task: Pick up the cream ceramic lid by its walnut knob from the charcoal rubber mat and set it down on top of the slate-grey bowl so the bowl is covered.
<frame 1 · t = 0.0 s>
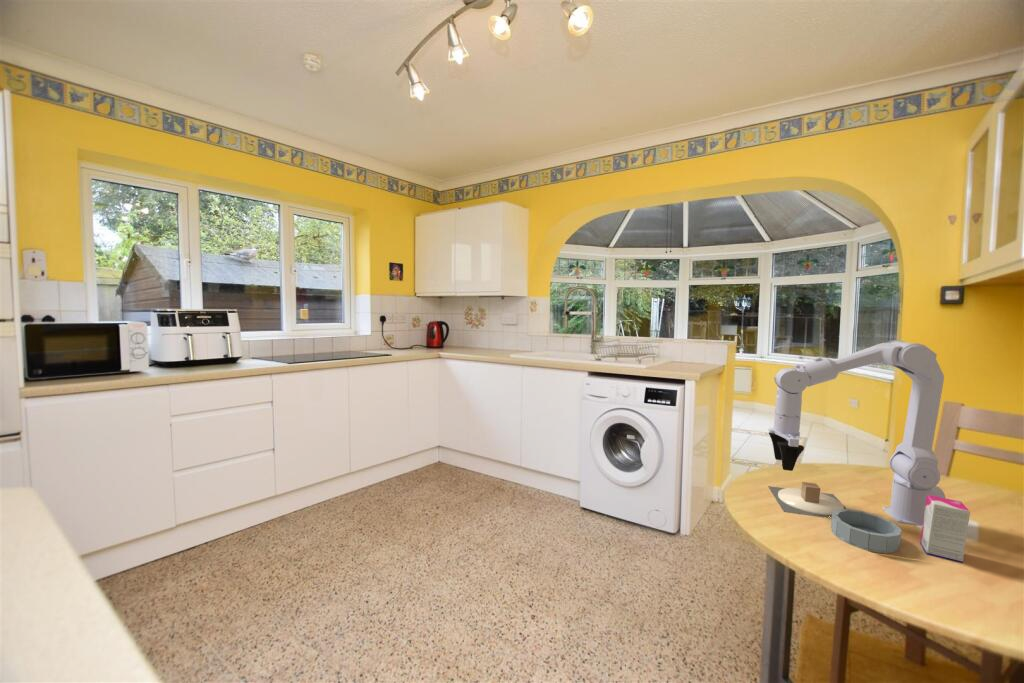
hand: (783, 464, 118), 10 cm above the table, tool pointing down, fingers open, 7 cm apart
bowl: (863, 538, 100), on the table
lid: (809, 502, 117), resting on mat
supplement box: (940, 554, 95), on the table
mat: (809, 503, 117), on the table
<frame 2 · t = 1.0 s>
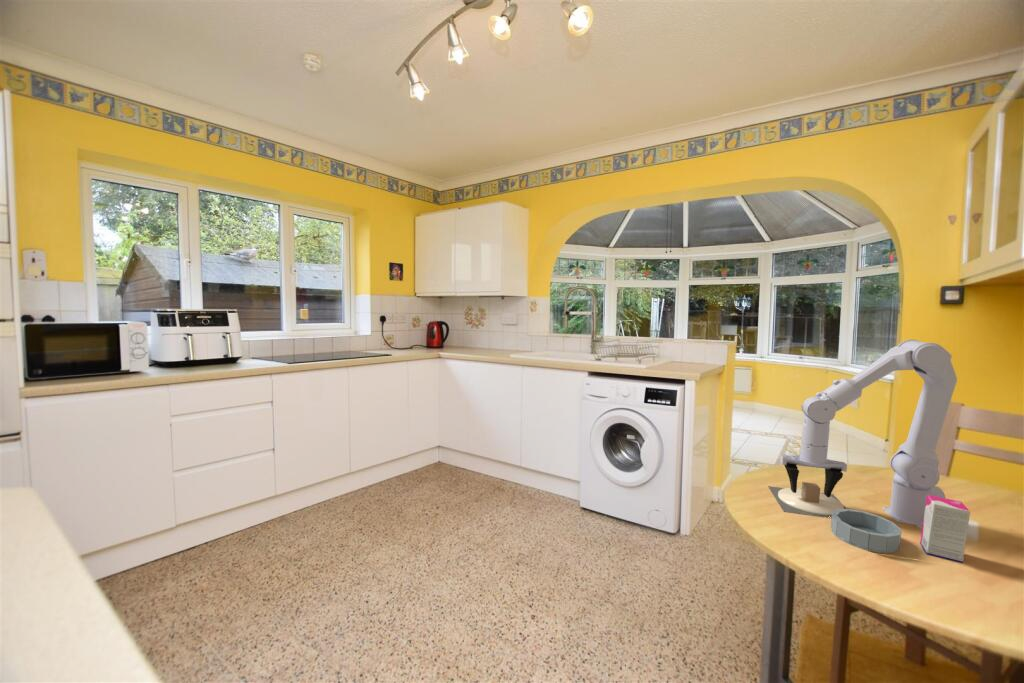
hand: (810, 493, 117), 3 cm above the table, tool pointing down, fingers open, 7 cm apart
nothing on the table moved.
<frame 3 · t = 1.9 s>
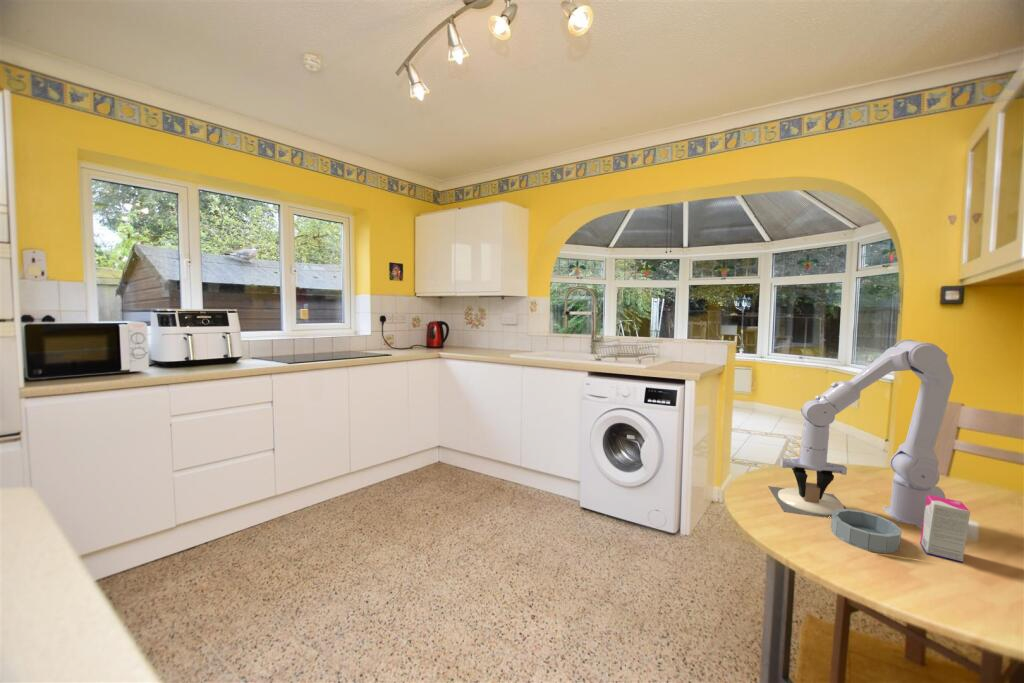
hand: (810, 496, 117), 2 cm above the table, tool pointing down, fingers closed on lid, 3 cm apart
lid: (809, 502, 117), resting on mat, touching gripper
everything else where it was.
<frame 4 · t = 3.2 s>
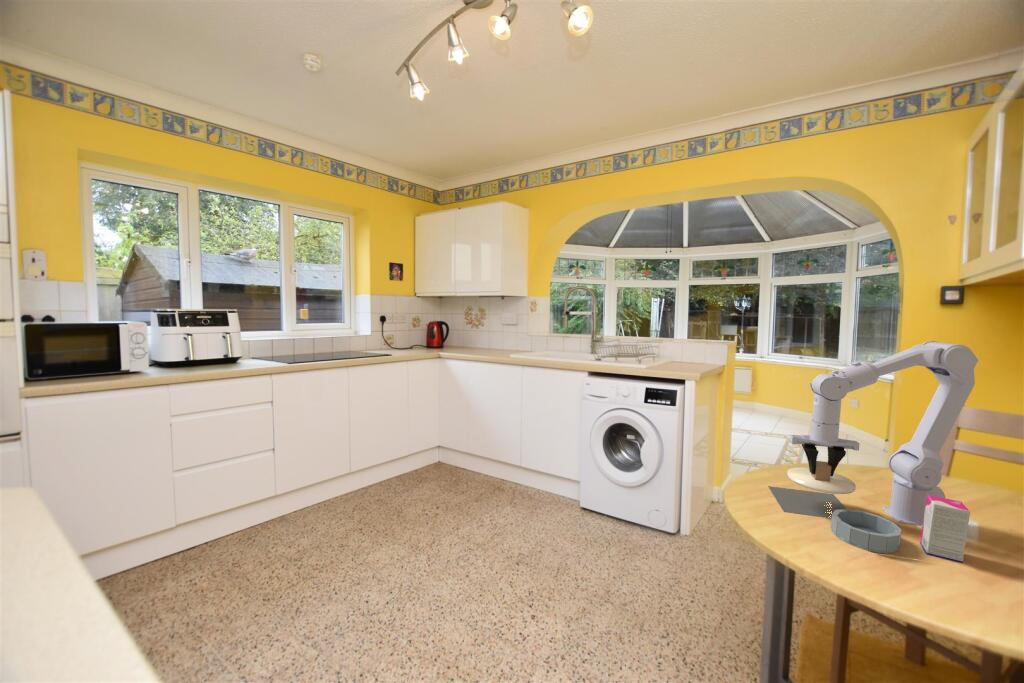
hand: (821, 473, 114), 9 cm above the table, tool pointing down, fingers closed on lid, 3 cm apart
lid: (820, 481, 114), point 7 cm above the table, touching gripper
everything else where it was.
when the fingers open (7 cm above the table, at t = 4.8 s): lid stays where it is, resting on bowl.
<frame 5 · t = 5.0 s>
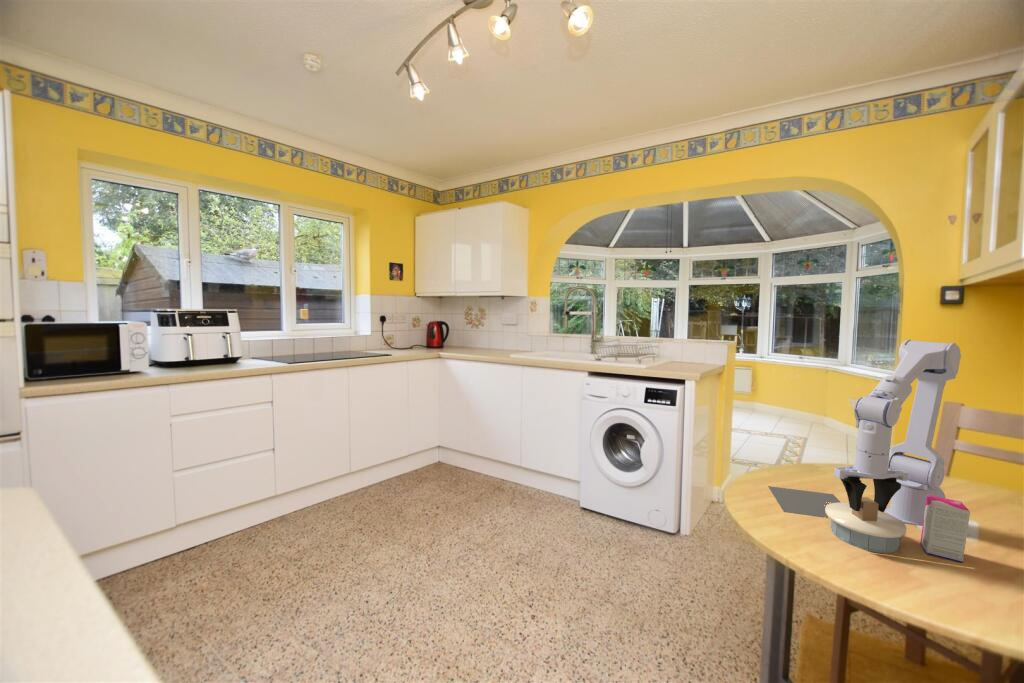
hand: (866, 509, 100), 7 cm above the table, tool pointing down, fingers open, 5 cm apart
lid: (863, 520, 101), point 4 cm above the table, touching bowl
everything else where it was.
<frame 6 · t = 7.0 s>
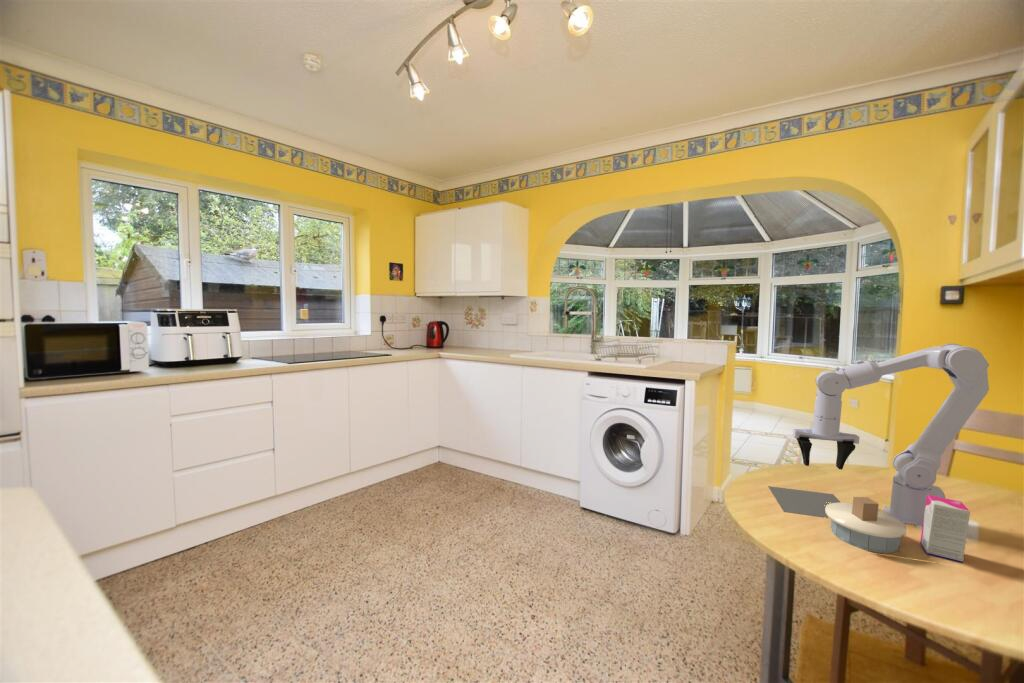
hand: (822, 466, 118), 9 cm above the table, tool pointing down, fingers open, 7 cm apart
nothing on the table moved.
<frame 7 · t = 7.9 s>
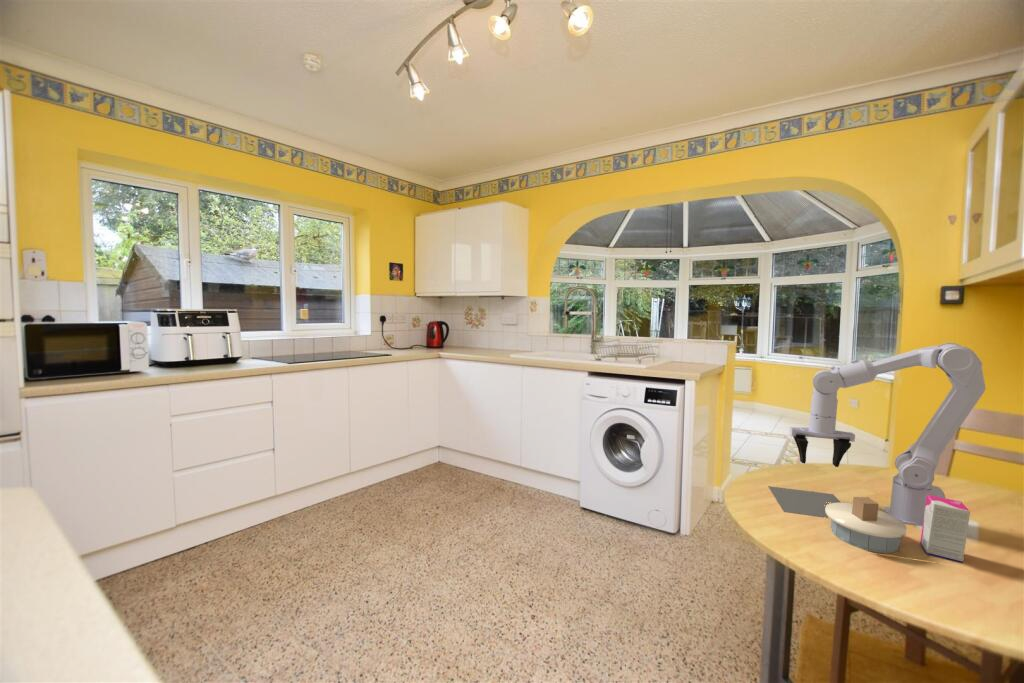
hand: (818, 463, 120), 9 cm above the table, tool pointing down, fingers open, 7 cm apart
nothing on the table moved.
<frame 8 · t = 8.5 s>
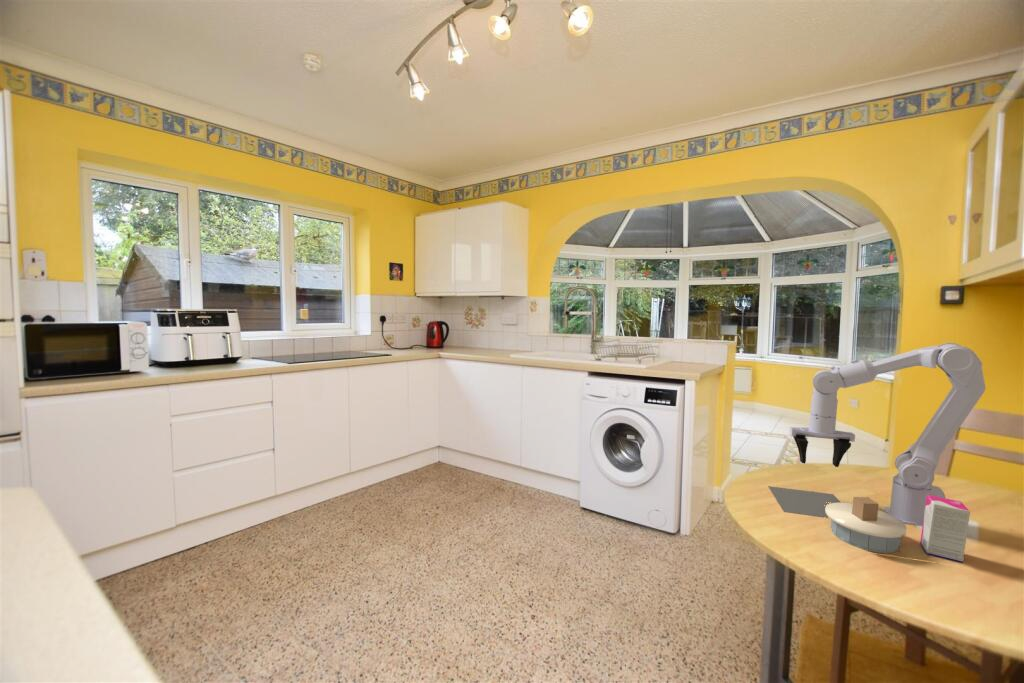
hand: (818, 463, 120), 9 cm above the table, tool pointing down, fingers open, 7 cm apart
nothing on the table moved.
at the end: lid 0.5 cm off-centre on the bowl, point 4.0 cm above the bowl's base; lid tilted 0°; the gripper is holding nothing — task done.
